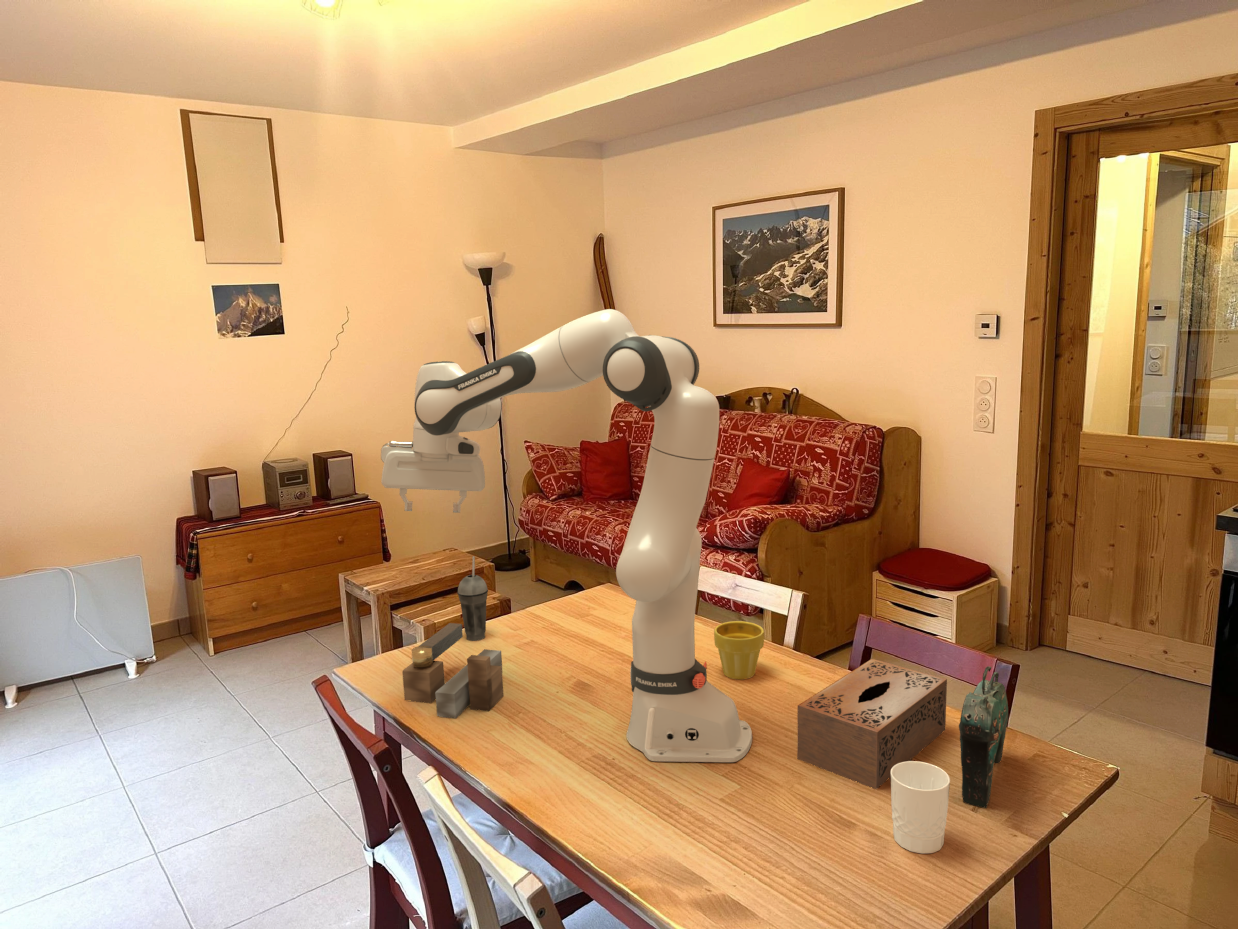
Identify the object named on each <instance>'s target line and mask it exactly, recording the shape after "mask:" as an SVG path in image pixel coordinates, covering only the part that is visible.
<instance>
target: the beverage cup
mask: <svg viewBox="0 0 1238 929" xmlns="http://www.w3.org/2000/svg"><path fill="white" fill-rule="evenodd" d="M475 559H476V558H475V555H473V556H472V568H471V570H472V572H471V574H469V575H466V576H464V577H463V578H461V580H460V582H459V584H458V587H457V596H458V600H459V603H460V608H461V615H462V620H463V627H464V633H465V636H466V640H467V641H470V642H477V641H481V640H484V639H485V637H486V631H487V630H486V629H487V627H486V626H487V599H488V592H489V588H488V586H487V583H486V581H485V580H484V578H483V577H481V576H480V575H477V574H475V573H476V572H475V570H476V569H475V568H476V565H475V563H476V562H475V561H476V560H475Z"/></svg>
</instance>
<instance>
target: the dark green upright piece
mask: <svg viewBox="0 0 1238 929" xmlns="http://www.w3.org/2000/svg"><path fill="white" fill-rule="evenodd" d="M991 670H992V666H989V665H988V666H986V667H985V669H984V671H983V673H982V680H981V681H980V682H979V683H977V685H976V687H975V688H974V691H973V692H970V691H969V693H967V694H966V695H965V697H964V702H963V705H962V708H961V709H962V710H961V714H960V719H959V724H958V730H959V742H960V763H961V765H960V766H961V774H962V775H961V777H962V780H961V797H962V802H963V803H965V804H969V805H971V806H975V807H978V808H983V809H987V807H988V805H989V802H990V798H991V792H992V785H993V773H994V763H995V764H1000V763H1001V762H1002V758H1003V755H1004V754H1003V752H1004V746H1005V745H1004V744H1005V739H1006V733H1007V727H1008V722H1009V706H1008V705H1009V704H1008V697H1007V691H1006V687H1005V685H1004V684H1003V683H1001V682H999V672H998V671H995V672H993V674H992V676H991V678H990V680H987V674H988V672H990V671H991ZM994 679H995V680H994ZM1000 761H1001V762H1000Z"/></svg>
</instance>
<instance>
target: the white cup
mask: <svg viewBox="0 0 1238 929" xmlns="http://www.w3.org/2000/svg"><path fill="white" fill-rule="evenodd" d="M950 782H951V778H950V775H949V774H948V773H947V772H946V771H945V770H943V769H942V768H941V767H939V766H936V765H935V764H932V763H928V762H925V761H919V760H918V761H916V760H915V761H914V760H910V761H906V762H901V763H898V764H896V765H894V766H893V767H892V769H891V777H890V797H891V798H890V800H891V805H890V806H891V820H892V832H893V838H894V841H895V842H896V843H897V844H898V845H899V846H900V847H901V848H903V849H906V850H907V851H909V852H912V853H918V854H933V853H936V852H938V851H940V850H941V849H942V847H943V846H944V843H945V831H946V825H947V817H948V808H949V798H950V797H949V796H950V795H949V794H950V785H951V783H950Z"/></svg>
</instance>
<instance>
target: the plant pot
mask: <svg viewBox="0 0 1238 929" xmlns="http://www.w3.org/2000/svg"><path fill="white" fill-rule="evenodd" d="M713 635H714V636H713V640H714V646H715V647H716V649H717V651H718V655H719V658H720V659H719V660H720V662H721V667H722V668H721V669H722V672H723V675H724V676H725V677H727V678H729V679H732V680H747V679H750V678H752V677H754V675H755V674H756V671H757V670H756V669H757V665H758V660H759V656H760V652H761V650H762V649H763V647H764V643H765V630H764V628H763V627H762V626H761V625H759V624H756V623H754V622H751V621H742V620H736V621H735V620H734V621H733V620H732V621H725V622H722V623H720V624H718V625H716V627H715V628H714V630H713Z"/></svg>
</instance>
